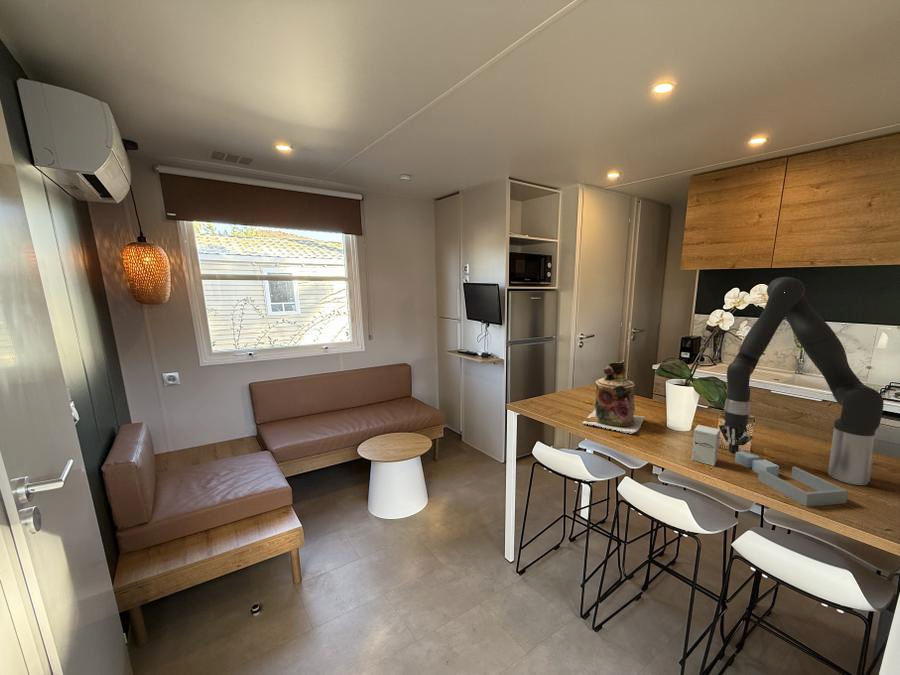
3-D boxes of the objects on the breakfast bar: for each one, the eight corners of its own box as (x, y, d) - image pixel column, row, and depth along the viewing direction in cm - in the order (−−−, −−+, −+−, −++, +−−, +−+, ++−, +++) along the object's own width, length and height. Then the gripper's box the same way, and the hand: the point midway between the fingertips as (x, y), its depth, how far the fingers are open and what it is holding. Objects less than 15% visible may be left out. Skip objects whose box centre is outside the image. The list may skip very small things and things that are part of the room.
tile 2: (764, 469, 131) (765, 459, 130) (778, 476, 126) (779, 466, 125) (752, 470, 130) (753, 460, 130) (765, 477, 125) (766, 467, 125)
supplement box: (690, 460, 138) (693, 429, 137) (695, 454, 144) (697, 423, 142) (714, 466, 133) (716, 434, 132) (718, 460, 138) (720, 428, 137)
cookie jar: (595, 411, 196) (597, 353, 192) (645, 420, 181) (648, 358, 177) (580, 425, 176) (582, 361, 172) (636, 436, 161) (639, 367, 157)
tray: (794, 477, 125) (795, 466, 124) (846, 503, 110) (848, 490, 109) (758, 480, 123) (759, 469, 123) (805, 506, 108) (807, 494, 108)
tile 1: (746, 460, 138) (747, 450, 137) (759, 467, 133) (760, 456, 132) (734, 461, 137) (735, 451, 136) (747, 468, 132) (748, 457, 132)
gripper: (762, 416, 132) (757, 460, 135) (730, 404, 145) (727, 445, 148) (743, 417, 132) (739, 461, 134) (713, 405, 145) (710, 446, 147)
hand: (733, 453), depth 141 cm, fingers closed
